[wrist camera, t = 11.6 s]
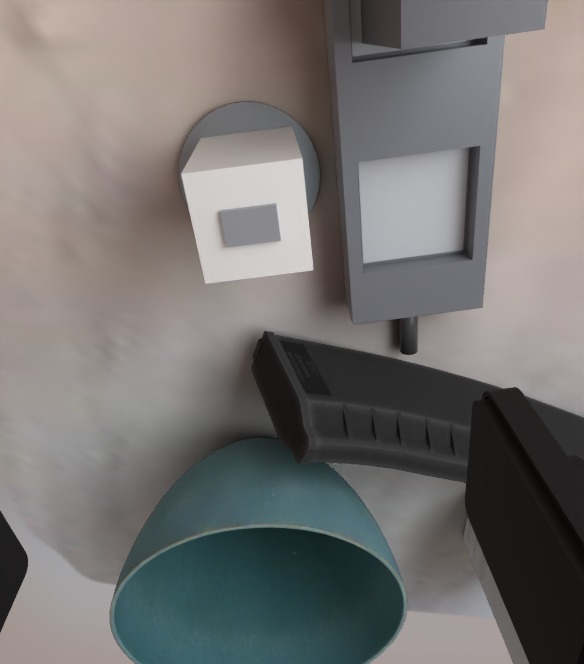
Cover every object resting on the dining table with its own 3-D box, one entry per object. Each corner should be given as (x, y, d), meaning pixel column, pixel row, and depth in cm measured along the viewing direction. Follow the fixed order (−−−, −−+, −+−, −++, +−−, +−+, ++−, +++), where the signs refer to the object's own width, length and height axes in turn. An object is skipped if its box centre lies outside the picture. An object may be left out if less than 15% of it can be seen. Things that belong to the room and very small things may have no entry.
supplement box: (538, 533, 48) (620, 682, 37) (460, 538, 47) (519, 689, 37) (557, 477, 44) (655, 624, 33) (472, 481, 44) (542, 631, 33)
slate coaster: (324, 233, 31) (325, 236, 31) (196, 250, 32) (195, 253, 31) (311, 91, 27) (312, 92, 27) (164, 112, 27) (162, 113, 27)
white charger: (301, 215, 30) (314, 272, 23) (218, 226, 30) (205, 286, 23) (292, 126, 28) (302, 159, 21) (200, 137, 28) (180, 175, 21)
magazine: (204, 437, 28) (731, 673, 26) (220, 392, 26) (780, 639, 25) (280, 316, 43) (618, 461, 41) (293, 282, 41) (644, 432, 40)
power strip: (462, 337, 36) (481, 366, 33) (349, 351, 36) (358, 382, 33) (496, -222, 22) (535, -264, 18) (309, -194, 22) (317, -232, 19)
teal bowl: (384, 385, 38) (432, 523, 27) (359, 544, 47) (387, 693, 37) (135, 386, 37) (85, 530, 26) (159, 548, 46) (129, 703, 35)
